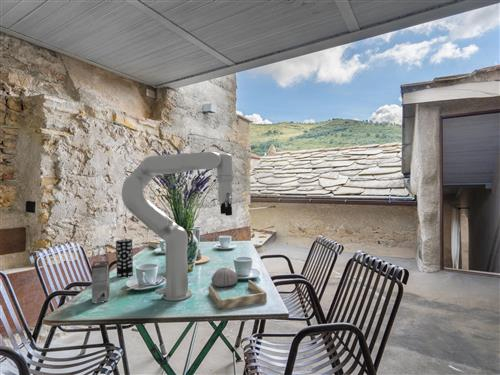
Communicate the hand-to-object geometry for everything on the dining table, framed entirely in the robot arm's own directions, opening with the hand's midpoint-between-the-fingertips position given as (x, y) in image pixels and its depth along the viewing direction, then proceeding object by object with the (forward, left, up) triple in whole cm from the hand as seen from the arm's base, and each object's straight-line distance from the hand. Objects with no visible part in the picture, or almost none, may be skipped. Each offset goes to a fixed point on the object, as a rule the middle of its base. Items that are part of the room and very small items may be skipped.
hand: (226, 214), depth 141 cm
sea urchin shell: (0, +5, -36) cm, 36 cm away
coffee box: (-56, +8, -36) cm, 67 cm away
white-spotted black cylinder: (-48, +42, -36) cm, 73 cm away
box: (0, -14, -35) cm, 38 cm away
